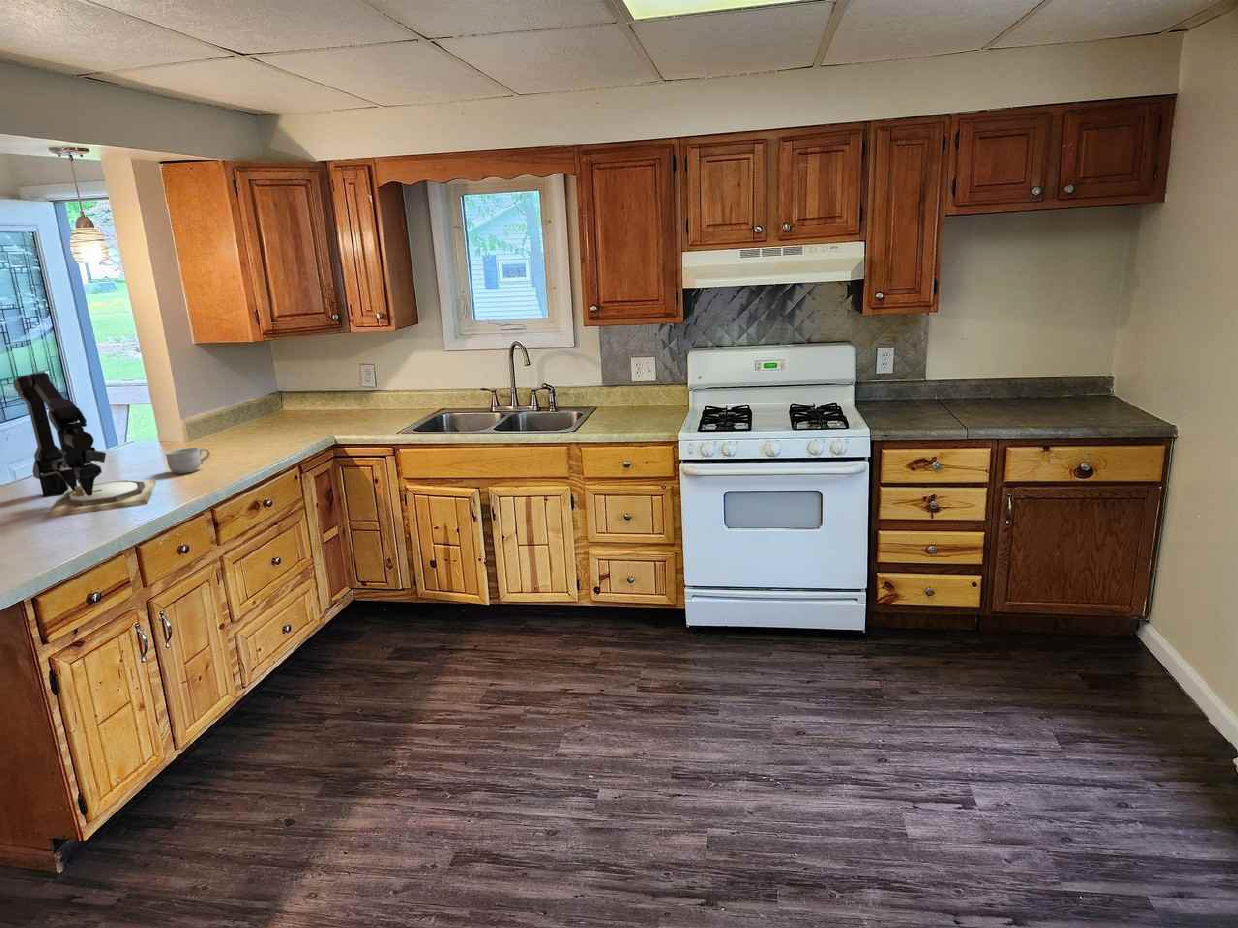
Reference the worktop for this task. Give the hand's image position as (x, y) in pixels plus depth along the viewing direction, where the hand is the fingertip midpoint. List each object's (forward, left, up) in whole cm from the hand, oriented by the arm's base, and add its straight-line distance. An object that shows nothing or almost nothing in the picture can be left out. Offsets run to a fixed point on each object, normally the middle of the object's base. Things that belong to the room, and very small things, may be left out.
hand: (82, 492), depth 253 cm
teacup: (+29, +28, -4) cm, 40 cm away
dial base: (+6, +2, -4) cm, 7 cm away
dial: (+6, +2, -2) cm, 6 cm away
